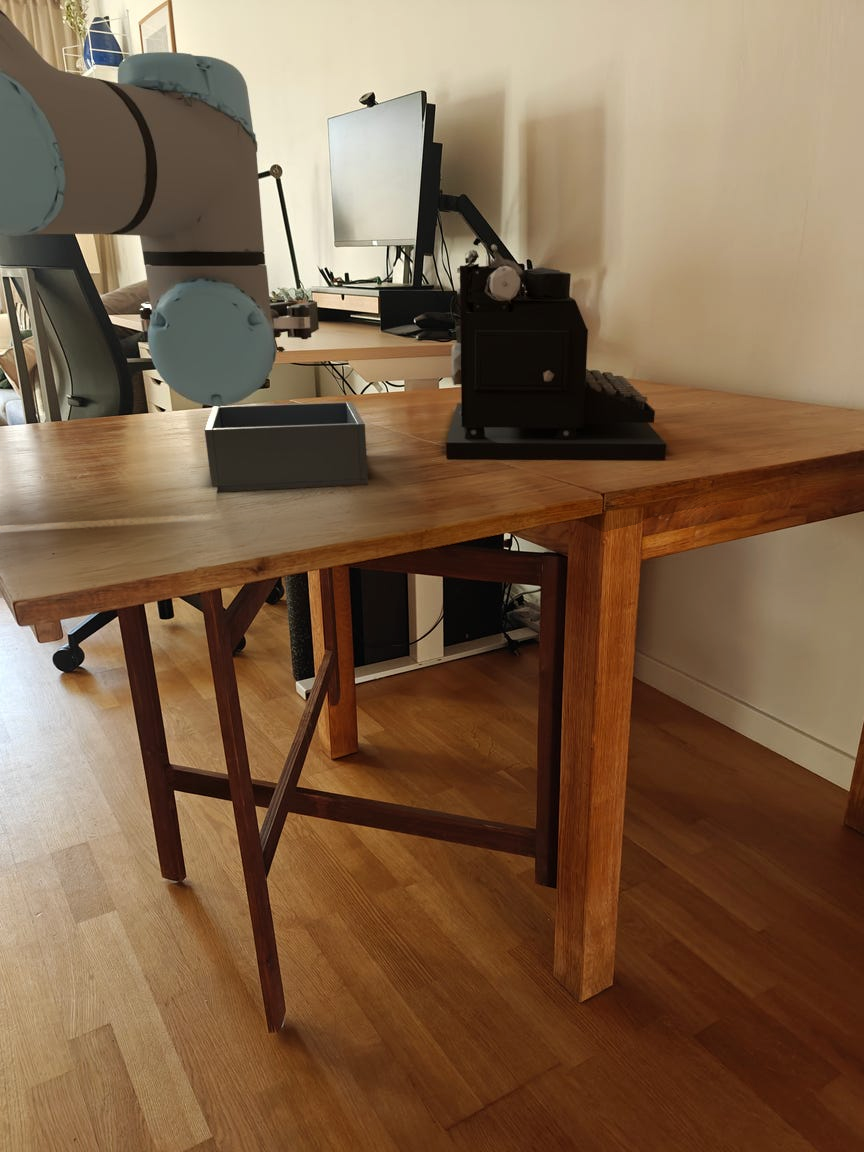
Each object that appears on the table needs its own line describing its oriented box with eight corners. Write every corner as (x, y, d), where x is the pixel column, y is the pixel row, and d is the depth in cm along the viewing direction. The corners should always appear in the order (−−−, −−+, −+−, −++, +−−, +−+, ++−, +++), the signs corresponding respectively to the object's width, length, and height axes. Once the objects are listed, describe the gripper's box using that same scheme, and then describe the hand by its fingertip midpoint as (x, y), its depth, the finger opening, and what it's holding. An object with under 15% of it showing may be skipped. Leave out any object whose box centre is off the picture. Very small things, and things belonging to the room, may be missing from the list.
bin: (212, 492, 92) (204, 429, 89) (219, 461, 106) (212, 406, 103) (368, 484, 95) (364, 423, 93) (355, 455, 109) (352, 401, 106)
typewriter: (665, 460, 107) (685, 237, 96) (446, 458, 107) (443, 236, 97) (630, 417, 135) (643, 241, 125) (457, 416, 135) (456, 240, 125)
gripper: (86, 383, 66) (131, 353, 86) (363, 376, 70) (344, 349, 90) (67, 276, 62) (118, 271, 83) (358, 275, 67) (339, 270, 87)
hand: (235, 311), depth 86 cm, fingers closed on game die, 8 cm apart
